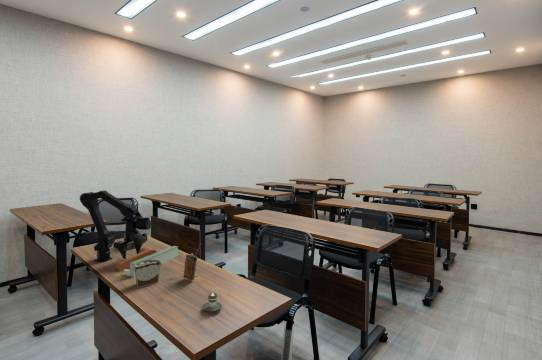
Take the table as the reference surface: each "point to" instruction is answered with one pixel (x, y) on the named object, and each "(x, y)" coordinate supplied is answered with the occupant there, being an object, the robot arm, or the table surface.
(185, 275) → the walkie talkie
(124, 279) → the table surface
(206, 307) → the grey knobbed lid
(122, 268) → the crank
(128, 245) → the small box
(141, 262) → the food container
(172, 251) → the chute mount
